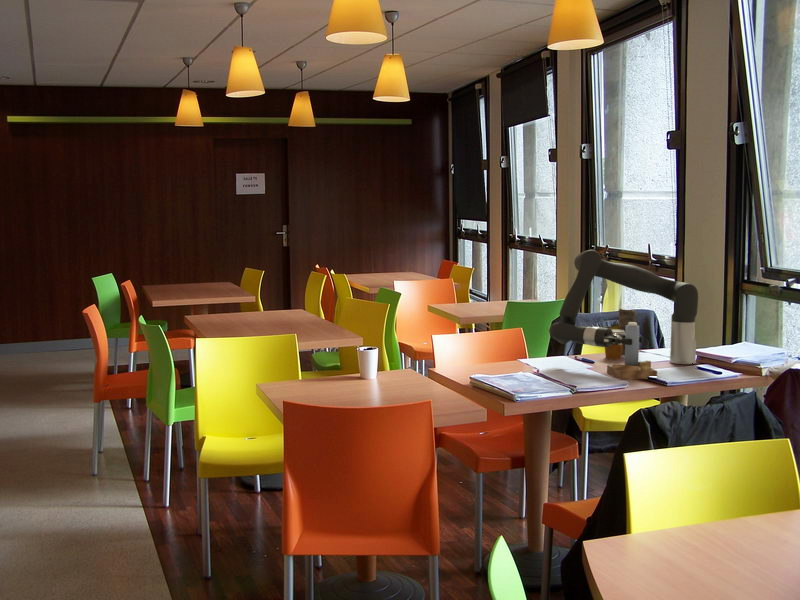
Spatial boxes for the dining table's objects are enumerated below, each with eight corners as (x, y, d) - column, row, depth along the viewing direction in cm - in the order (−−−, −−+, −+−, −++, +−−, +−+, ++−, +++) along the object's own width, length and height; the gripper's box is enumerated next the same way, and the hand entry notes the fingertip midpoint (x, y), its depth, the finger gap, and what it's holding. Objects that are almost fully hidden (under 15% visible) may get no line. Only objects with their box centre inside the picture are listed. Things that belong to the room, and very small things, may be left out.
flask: (635, 366, 319) (636, 321, 317) (640, 368, 314) (641, 323, 312) (622, 366, 318) (623, 322, 317) (627, 369, 313) (628, 323, 312)
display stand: (642, 371, 325) (643, 356, 324) (659, 379, 310) (660, 363, 309) (604, 372, 323) (605, 357, 322) (619, 379, 308) (620, 363, 307)
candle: (614, 353, 369) (615, 308, 367) (627, 352, 372) (629, 307, 370) (625, 355, 362) (626, 310, 360) (638, 354, 365) (640, 309, 363)
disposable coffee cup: (622, 356, 360) (623, 329, 359) (626, 360, 351) (627, 332, 350) (600, 356, 361) (601, 328, 360) (603, 359, 352) (604, 331, 351)
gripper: (589, 329, 319) (629, 332, 308) (606, 325, 329) (645, 329, 319) (589, 348, 319) (628, 353, 309) (606, 344, 330) (645, 348, 320)
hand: (637, 340), depth 314 cm, fingers open, 8 cm apart
